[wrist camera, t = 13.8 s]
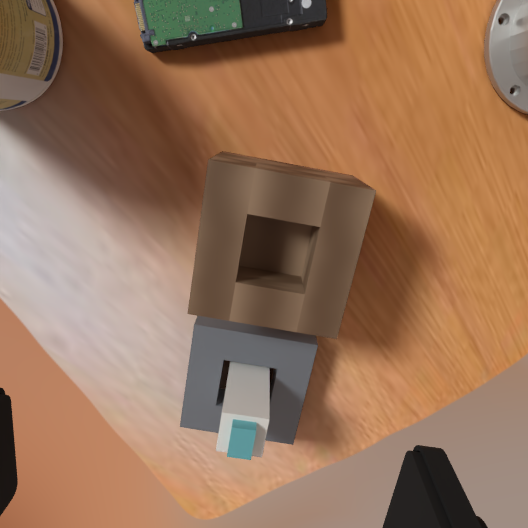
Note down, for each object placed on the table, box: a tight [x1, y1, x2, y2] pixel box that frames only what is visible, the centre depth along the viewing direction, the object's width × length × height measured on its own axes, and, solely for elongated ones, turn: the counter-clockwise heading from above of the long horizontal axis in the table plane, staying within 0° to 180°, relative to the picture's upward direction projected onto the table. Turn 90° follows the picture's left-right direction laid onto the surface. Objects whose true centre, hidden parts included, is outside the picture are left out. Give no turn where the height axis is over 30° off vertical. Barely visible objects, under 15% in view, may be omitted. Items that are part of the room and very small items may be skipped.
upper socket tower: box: [188, 151, 376, 339], centre depth 36 cm, size 12×12×9 cm
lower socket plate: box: [180, 316, 318, 445], centre depth 44 cm, size 12×12×3 cm
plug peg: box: [216, 361, 270, 460], centre depth 40 cm, size 4×4×11 cm
